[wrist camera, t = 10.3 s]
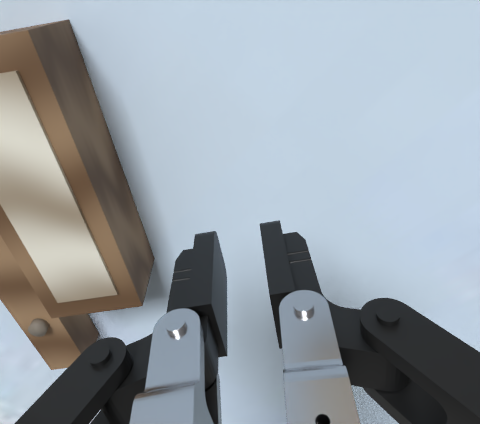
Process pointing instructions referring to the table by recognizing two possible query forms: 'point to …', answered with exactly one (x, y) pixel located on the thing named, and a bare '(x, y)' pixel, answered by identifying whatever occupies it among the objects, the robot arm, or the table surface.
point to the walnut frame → (64, 180)
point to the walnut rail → (42, 317)
